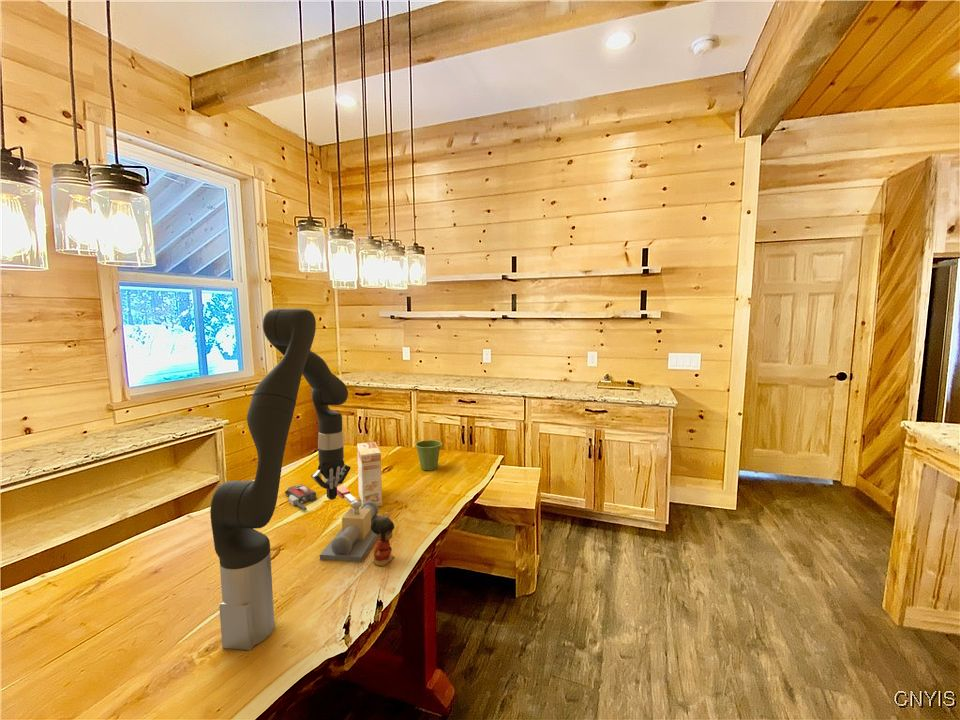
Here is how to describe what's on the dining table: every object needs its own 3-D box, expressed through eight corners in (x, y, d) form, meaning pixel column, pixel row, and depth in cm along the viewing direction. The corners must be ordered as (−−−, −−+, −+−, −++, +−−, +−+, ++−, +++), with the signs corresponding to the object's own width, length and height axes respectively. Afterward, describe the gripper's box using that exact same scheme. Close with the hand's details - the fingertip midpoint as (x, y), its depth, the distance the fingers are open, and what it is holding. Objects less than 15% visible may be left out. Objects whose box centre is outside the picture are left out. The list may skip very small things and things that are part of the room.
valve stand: (361, 562, 114) (360, 527, 113) (319, 559, 115) (318, 525, 114) (388, 519, 138) (388, 490, 137) (354, 518, 139) (353, 489, 138)
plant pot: (447, 466, 187) (447, 442, 186) (431, 475, 177) (430, 449, 176) (427, 461, 193) (426, 438, 192) (410, 469, 183) (409, 444, 182)
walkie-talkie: (279, 497, 156) (302, 514, 143) (278, 485, 156) (302, 501, 142) (302, 489, 163) (327, 505, 149) (301, 479, 162) (326, 493, 149)
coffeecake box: (382, 505, 148) (381, 452, 146) (362, 509, 145) (360, 455, 143) (377, 489, 162) (375, 441, 160) (358, 492, 159) (356, 443, 157)
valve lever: (363, 506, 125) (363, 500, 125) (353, 509, 123) (353, 503, 123) (343, 490, 137) (343, 484, 137) (334, 492, 135) (333, 487, 135)
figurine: (371, 568, 111) (370, 525, 110) (371, 557, 116) (370, 516, 115) (395, 564, 113) (394, 522, 111) (394, 553, 118) (393, 513, 117)
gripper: (317, 452, 123) (319, 509, 124) (356, 443, 133) (356, 495, 134) (304, 447, 127) (306, 502, 129) (342, 438, 138) (343, 489, 139)
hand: (332, 498), depth 132 cm, fingers closed
